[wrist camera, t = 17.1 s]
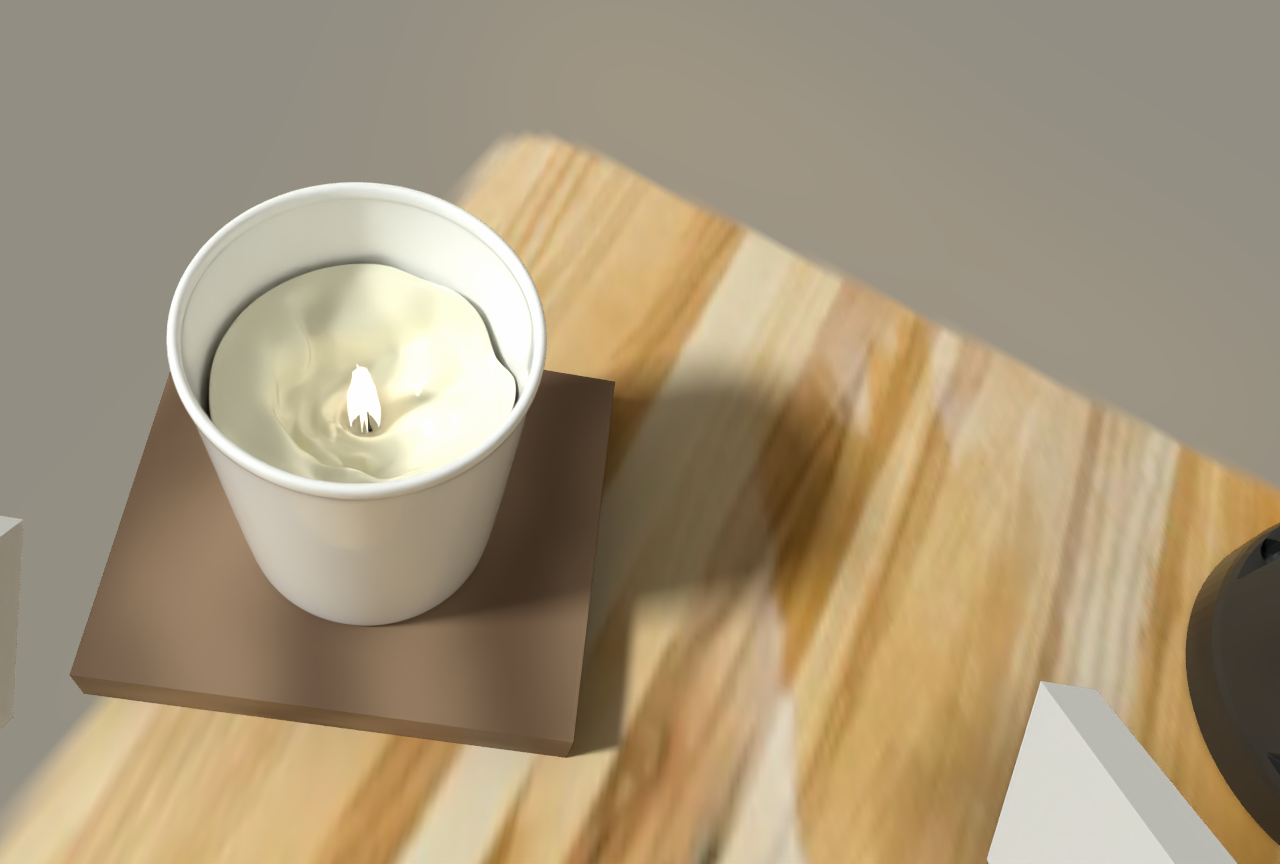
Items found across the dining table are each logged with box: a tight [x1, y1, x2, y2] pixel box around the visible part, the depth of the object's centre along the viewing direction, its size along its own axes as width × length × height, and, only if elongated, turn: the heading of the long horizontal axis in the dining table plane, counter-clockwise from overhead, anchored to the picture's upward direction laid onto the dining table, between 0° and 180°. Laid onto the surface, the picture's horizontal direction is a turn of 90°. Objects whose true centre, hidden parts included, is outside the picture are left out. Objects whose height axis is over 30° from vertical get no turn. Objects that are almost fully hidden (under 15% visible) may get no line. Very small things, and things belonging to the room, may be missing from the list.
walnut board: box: [70, 370, 615, 757], centre depth 43 cm, size 16×14×2 cm
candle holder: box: [167, 182, 547, 626], centre depth 37 cm, size 10×10×12 cm
